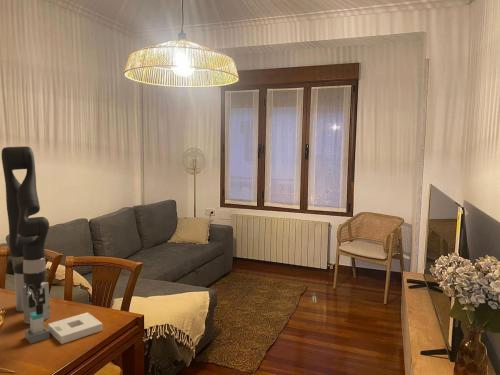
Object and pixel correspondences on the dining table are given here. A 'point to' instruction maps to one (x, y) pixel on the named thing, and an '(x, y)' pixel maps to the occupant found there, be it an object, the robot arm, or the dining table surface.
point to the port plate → (74, 327)
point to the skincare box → (29, 310)
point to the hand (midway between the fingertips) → (35, 310)
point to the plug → (36, 323)
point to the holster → (36, 336)
